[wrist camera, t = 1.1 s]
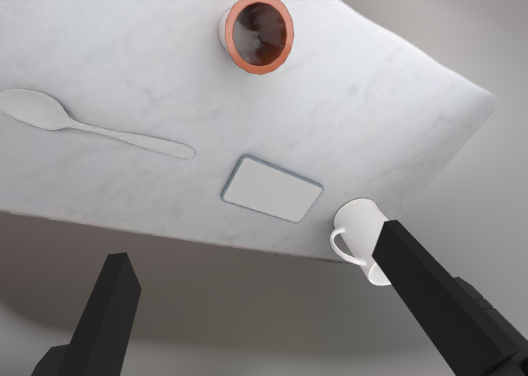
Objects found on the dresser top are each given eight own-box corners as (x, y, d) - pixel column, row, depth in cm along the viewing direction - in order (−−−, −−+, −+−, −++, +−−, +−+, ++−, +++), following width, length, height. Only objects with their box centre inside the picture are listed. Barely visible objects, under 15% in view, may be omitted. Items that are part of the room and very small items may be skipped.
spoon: (1, 76, 26) (-11, 79, 24) (199, 141, 33) (199, 146, 32) (3, 114, 27) (-8, 118, 26) (190, 167, 35) (190, 173, 33)
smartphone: (299, 225, 44) (219, 200, 37) (297, 221, 44) (219, 196, 38) (326, 188, 40) (244, 154, 34) (324, 184, 41) (243, 151, 35)
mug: (311, 233, 47) (339, 288, 37) (325, 195, 42) (361, 247, 32) (365, 233, 50) (404, 285, 40) (384, 199, 45) (432, 247, 35)
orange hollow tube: (211, 39, 27) (212, 50, 16) (229, -3, 25) (247, -27, 14) (246, 62, 29) (270, 86, 17) (265, 23, 27) (307, 22, 16)
